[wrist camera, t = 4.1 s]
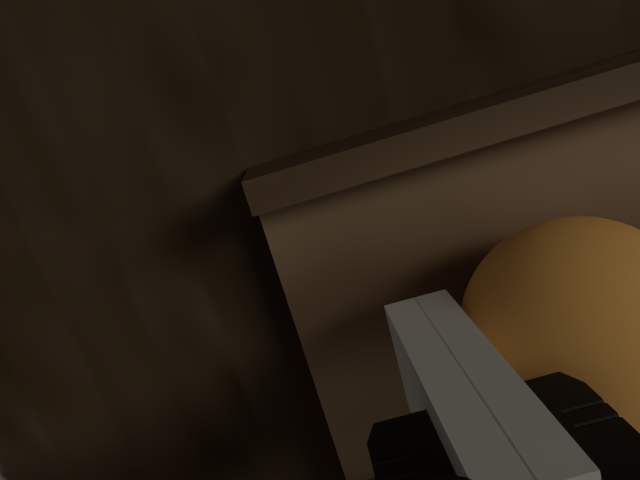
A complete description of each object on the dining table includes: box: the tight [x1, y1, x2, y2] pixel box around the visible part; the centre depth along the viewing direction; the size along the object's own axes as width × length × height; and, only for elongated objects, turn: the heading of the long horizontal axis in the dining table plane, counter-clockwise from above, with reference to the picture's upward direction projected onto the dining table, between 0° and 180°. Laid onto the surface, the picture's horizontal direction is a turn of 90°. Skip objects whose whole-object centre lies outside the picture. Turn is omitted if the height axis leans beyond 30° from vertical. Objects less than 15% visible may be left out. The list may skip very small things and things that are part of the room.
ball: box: [461, 216, 640, 433], centre depth 12 cm, size 5×5×5 cm
